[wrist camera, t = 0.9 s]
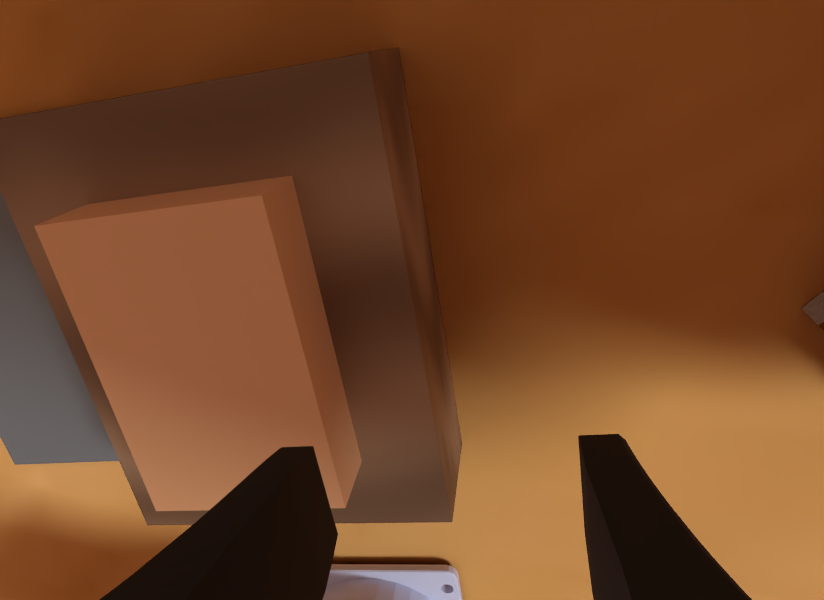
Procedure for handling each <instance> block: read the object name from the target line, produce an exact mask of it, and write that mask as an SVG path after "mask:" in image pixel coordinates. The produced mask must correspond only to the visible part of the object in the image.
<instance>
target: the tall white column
mask: <svg viewBox="0 0 824 600" xmlns="http://www.w3.org/2000/svg"><path fill="white" fill-rule="evenodd" d="M801 309H802V310H803V311H804V312H805V313H806V314H807V315H808V316H809V317H810V318H811V319H812V320H813V321H814V322H815V323H816V324H817V325H818V326H819V327H821V328H822V329H823V330H824V291H823V292H822V293H821V294H819V295H818V296H817V297H815V298H814V299H813V300H811V301H810V302H809V303H807V304H806V305H805V306H804V307H802V308H801Z"/></svg>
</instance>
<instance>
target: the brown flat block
mask: <svg viewBox="0 0 824 600" xmlns="http://www.w3.org/2000/svg"><path fill="white" fill-rule="evenodd" d="M285 176H292V178H293V182H294V186H295V190H296V194H297V198H298V202H299V206H300V211H301V215H302V219H303V223H304V227H305V231H306V235H307V239H308V243H309V247H310V251H311V256H312V260H313V264H314V268H315V272H316V276H317V280H318V284H319V288H320V292H321V297H322V301H323V305H324V309H325V313H326V317H327V321H328V325H329V329H330V333H331V338H332V342H333V346H334V350H335V354H336V358H337V362H338V366H339V370H340V374H341V379H342V383H343V387H344V391H345V395H346V399H347V403H348V407H349V411H350V415H351V420H352V424H353V428H354V432H355V436H356V440H357V444H358V448H359V452H360V456H361V461H362V462H361V465H360V468H359V471H358V474H357V477H356V479H355V482H354V485H353V488H352V491H351V494H350V497H349V499H348V502H347V505H346V508H331V512H332V515H333V519H334V522H335V523H408V522H452V519H453V511H454V503H455V495H456V487H457V479H458V471H459V463H460V454H461V446H462V441H461V435H460V429H459V422H458V416H457V410H456V404H455V397H454V391H453V385H452V379H451V372H450V366H449V360H448V354H447V347H446V341H445V335H444V329H443V322H442V316H441V310H440V304H439V297H438V291H437V285H436V279H435V273H434V266H433V260H432V254H431V248H430V241H429V235H428V229H427V223H426V216H425V210H424V204H423V198H422V191H421V185H420V179H419V173H418V166H417V160H416V154H415V148H414V141H413V135H412V129H411V123H410V117H409V110H408V104H407V98H406V92H405V85H404V79H403V73H402V67H401V60H400V54H399V48H393V49H387V50H380V51H374V52H367V53H362V54H356V55H351V56H345V57H340V58H334V59H329V60H323V61H318V62H312V63H307V64H301V65H296V66H290V67H285V68H279V69H274V70H268V71H262V72H257V73H251V74H246V75H240V76H235V77H229V78H224V79H218V80H213V81H207V82H202V83H196V84H191V85H185V86H180V87H174V88H169V89H163V90H157V91H152V92H146V93H141V94H135V95H130V96H124V97H119V98H113V99H108V100H102V101H97V102H91V103H86V104H80V105H75V106H69V107H64V108H58V109H52V110H47V111H41V112H36V113H30V114H25V115H19V116H14V117H8V118H3V119H0V192H1V194H2V196H3V198H4V201H5V203H6V205H7V207H8V210H9V212H10V214H11V216H12V219H13V221H14V223H15V226H16V228H17V230H18V232H19V235H20V237H21V239H22V241H23V244H24V246H25V248H26V251H27V253H28V255H29V257H30V260H31V262H32V264H33V266H34V269H35V271H36V273H37V275H38V278H39V280H40V282H41V285H42V287H43V289H44V291H45V294H46V296H47V298H48V300H49V303H50V305H51V307H52V309H53V312H54V314H55V316H56V319H57V321H58V323H59V325H60V328H61V330H62V332H63V334H64V337H65V339H66V341H67V344H68V346H69V348H70V350H71V353H72V355H73V357H74V359H75V362H76V364H77V366H78V368H79V371H80V373H81V375H82V378H83V380H84V382H85V384H86V387H87V389H88V391H89V393H90V396H91V398H92V400H93V403H94V405H95V407H96V409H97V412H98V414H99V416H100V418H101V421H102V423H103V425H104V427H105V430H106V432H107V434H108V437H109V439H110V441H111V443H112V446H113V448H114V450H115V452H116V455H117V457H118V459H119V462H120V464H121V466H122V468H123V471H124V473H125V475H126V477H127V480H128V482H129V484H130V486H131V489H132V491H133V493H134V496H135V498H136V500H137V502H138V505H139V507H140V509H141V511H142V514H143V516H144V518H145V521H146V523H147V525H193V524H194V523H195V522H197V521H198V520H199V519H200V518H201V517H202V516H203V515H205V514H206V513H207V512H208V511H209V510H201V511H156V510H155V507H154V505H153V503H152V500H151V498H150V496H149V493H148V491H147V489H146V486H145V484H144V482H143V479H142V477H141V475H140V472H139V470H138V468H137V465H136V463H135V461H134V458H133V456H132V454H131V451H130V449H129V447H128V444H127V442H126V440H125V437H124V435H123V433H122V430H121V428H120V426H119V423H118V421H117V419H116V416H115V414H114V412H113V409H112V407H111V405H110V402H109V400H108V398H107V395H106V393H105V391H104V388H103V386H102V384H101V381H100V379H99V377H98V374H97V372H96V370H95V367H94V365H93V363H92V360H91V358H90V356H89V353H88V351H87V349H86V346H85V344H84V342H83V339H82V337H81V335H80V332H79V330H78V328H77V325H76V323H75V321H74V318H73V316H72V314H71V311H70V309H69V307H68V304H67V302H66V300H65V297H64V295H63V292H62V290H61V288H60V285H59V283H58V281H57V278H56V276H55V274H54V271H53V269H52V267H51V264H50V262H49V260H48V257H47V255H46V253H45V250H44V248H43V246H42V243H41V241H40V239H39V236H38V234H37V232H36V229H35V227H34V226H35V225H38V224H40V223H42V222H45V221H47V220H50V219H52V218H55V217H57V216H60V215H62V214H64V213H67V212H69V211H72V210H74V209H77V208H79V207H82V206H84V205H86V204H92V203H99V202H106V201H113V200H121V199H128V198H135V197H142V196H149V195H156V194H163V193H171V192H178V191H185V190H192V189H199V188H206V187H213V186H220V185H228V184H235V183H242V182H249V181H256V180H263V179H270V178H278V177H285Z"/></svg>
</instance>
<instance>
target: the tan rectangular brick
mask: <svg viewBox="0 0 824 600" xmlns="http://www.w3.org/2000/svg"><path fill="white" fill-rule="evenodd" d="M34 227H35V229H36V232H37V234H38V236H39V239H40V241H41V243H42V246H43V248H44V250H45V253H46V255H47V257H48V260H49V262H50V264H51V267H52V269H53V271H54V274H55V276H56V278H57V281H58V283H59V285H60V288H61V290H62V292H63V295H64V297H65V300H66V302H67V304H68V307H69V309H70V311H71V314H72V316H73V318H74V321H75V323H76V325H77V328H78V330H79V332H80V335H81V337H82V339H83V342H84V344H85V346H86V349H87V351H88V353H89V356H90V358H91V360H92V363H93V365H94V367H95V370H96V372H97V374H98V377H99V379H100V381H101V384H102V386H103V388H104V391H105V393H106V395H107V398H108V400H109V402H110V405H111V407H112V409H113V412H114V414H115V416H116V419H117V421H118V423H119V426H120V428H121V430H122V433H123V435H124V437H125V440H126V442H127V444H128V447H129V449H130V451H131V454H132V456H133V458H134V461H135V463H136V465H137V468H138V470H139V472H140V475H141V477H142V479H143V482H144V484H145V486H146V489H147V491H148V493H149V496H150V498H151V500H152V503H153V505H154V507H155V510H156V511H201V510H210V509H211V508H212V507H214V506H215V505H216V504H217V503H218V502H219V501H220V500H221V499H223V498H224V497H225V496H226V495H227V494H228V493H229V492H230V491H232V490H233V489H234V488H235V487H236V486H237V485H238V484H239V483H240V482H242V481H243V480H244V479H245V478H246V477H247V476H248V475H249V474H250V473H252V472H253V471H254V470H255V469H256V468H257V467H258V466H259V465H261V464H262V463H263V462H264V461H265V460H266V459H267V458H269V457H270V456H271V455H272V454H273V453H275V452H276V451H277V450H278V449H280V448H281V447H300V446H313V447H314V451H315V454H316V458H317V462H318V465H319V469H320V472H321V476H322V479H323V483H324V487H325V490H326V494H327V497H328V501H329V504H330V508H346V505H347V502H348V499H349V497H350V494H351V491H352V488H353V485H354V482H355V479H356V477H357V474H358V471H359V468H360V465H361V462H362V461H361V456H360V452H359V448H358V444H357V440H356V436H355V432H354V428H353V424H352V420H351V415H350V411H349V407H348V403H347V399H346V395H345V391H344V387H343V383H342V379H341V374H340V370H339V366H338V362H337V358H336V354H335V350H334V346H333V342H332V338H331V333H330V329H329V325H328V321H327V317H326V313H325V309H324V305H323V301H322V297H321V292H320V288H319V284H318V280H317V276H316V272H315V268H314V264H313V260H312V256H311V251H310V247H309V243H308V239H307V235H306V231H305V227H304V223H303V219H302V215H301V211H300V206H299V202H298V198H297V194H296V190H295V186H294V182H293V178H292V176H285V177H278V178H270V179H263V180H256V181H249V182H242V183H235V184H228V185H220V186H213V187H206V188H199V189H192V190H185V191H178V192H171V193H163V194H156V195H149V196H142V197H135V198H128V199H121V200H113V201H106V202H99V203H92V204H86V205H84V206H82V207H79V208H77V209H74V210H72V211H69V212H67V213H64V214H62V215H60V216H57V217H55V218H52V219H50V220H47V221H45V222H42V223H40V224H38V225H35V226H34Z"/></svg>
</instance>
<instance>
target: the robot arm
mask: <svg viewBox="0 0 824 600" xmlns="http://www.w3.org/2000/svg"><path fill="white" fill-rule="evenodd" d="M579 451H580V466H581V481H582V496H583V511H584V527H585V537H586V545H587V553H588V561H589V569H590V577H591V585H592V592H593V598H594V600H752V599H751V598H750V597H749V596H748V595H747V594H746V593H745V592H744V591H743V590H742V589H741V588H740V587H739V586H738V584H737V583H736V582H735V581H734V580H733V579H732V578H731V577H730V576H729V575H728V573H727V572H726V571H725V570H724V569H723V568H722V567H721V566H720V565H719V564H718V562H717V561H716V560H715V559H714V558H713V557H712V556H711V555H710V553H709V552H708V551H707V550H706V549H705V548H704V546H703V545H702V544H701V543H700V542H699V541H698V539H697V538H696V537H695V536H694V534H693V533H692V532H691V531H690V530H689V528H688V527H687V526H686V525H685V523H684V522H683V521H682V520H681V518H680V517H679V516H678V515H677V513H676V512H675V511H674V510H673V509H672V507H671V506H670V505H669V503H668V502H667V501H666V499H665V498H664V497H663V496H662V494H661V493H660V491H659V490H658V489H657V487H656V486H655V485H654V483H653V482H652V480H651V479H650V478H649V476H648V475H647V473H646V472H645V470H644V469H643V468H642V466H641V465H640V463H639V462H638V460H637V458H636V457H635V455H634V454H633V452H632V450H631V449H630V447H629V445H628V444H627V442H626V440H625V439H624V438H622V437H621V436H620V435H619V434H607V435H582V436H579ZM337 535H338V533H337V529H336V526H335V522H334V519H333V515H332V512H331V508H330V504H329V501H328V497H327V494H326V490H325V487H324V483H323V479H322V476H321V472H320V469H319V465H318V462H317V458H316V454H315V451H314V447H313V446H300V447H281V448H280V449H278V450H277V451H276V452H275V453H273V454H272V455H271V456H270V457H269V458H267V459H266V460H265V461H264V462H263V463H262V464H261V465H259V466H258V467H257V468H256V469H255V470H254V471H253V472H252V473H250V474H249V475H248V476H247V477H246V478H245V479H244V480H243V481H242V482H240V483H239V484H238V485H237V486H236V487H235V488H234V489H233V490H232V491H230V492H229V493H228V494H227V495H226V496H225V497H224V498H223V499H221V500H220V501H219V502H218V503H217V504H216V505H215V506H214V507H212V508H211V509H210V510H209V511H208V512H207V513H206V514H205V515H203V516H202V517H201V518H200V519H199V520H198V521H197V522H195V523H194V524H193V525H192V526H191V527H190V528H189V529H187V530H186V531H185V532H184V533H183V534H181V535H180V536H179V537H178V538H177V539H175V540H174V541H173V542H172V543H171V544H169V545H168V546H167V547H166V548H164V549H163V550H162V551H161V552H160V553H158V554H157V555H156V556H155V557H153V558H152V559H151V560H150V561H149V562H147V563H146V564H145V565H144V566H143V567H141V568H140V569H139V570H138V571H136V572H135V573H134V574H133V575H131V576H130V577H129V578H128V579H126V580H125V581H124V582H122V583H121V584H120V585H119V586H117V587H116V588H114V589H113V590H112V591H110V592H109V593H108V594H106V595H105V596H104V597H102V598H101V599H100V600H463V598H462V593H461V587H460V582H459V576H458V572H457V570H456V569H455V568H454V567H452V566H450V565H414V564H332V560H333V555H334V550H335V545H336V540H337ZM445 584H447V585H445Z"/></svg>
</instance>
